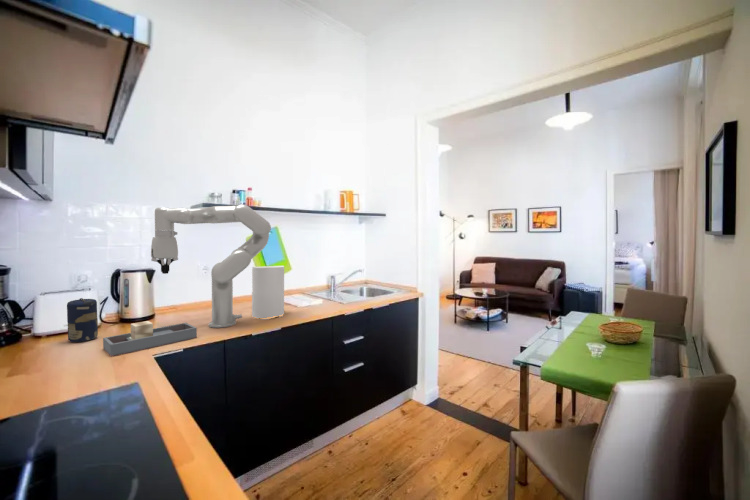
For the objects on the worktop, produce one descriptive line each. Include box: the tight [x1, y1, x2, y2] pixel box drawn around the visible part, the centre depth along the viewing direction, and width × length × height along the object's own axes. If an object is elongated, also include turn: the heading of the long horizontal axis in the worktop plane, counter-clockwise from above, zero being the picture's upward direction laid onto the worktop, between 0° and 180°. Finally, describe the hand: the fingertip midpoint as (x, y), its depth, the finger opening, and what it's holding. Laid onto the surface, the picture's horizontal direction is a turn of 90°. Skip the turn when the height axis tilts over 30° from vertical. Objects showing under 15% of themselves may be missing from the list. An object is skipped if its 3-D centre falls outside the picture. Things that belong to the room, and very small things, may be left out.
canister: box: [66, 297, 99, 343], centre depth 138 cm, size 10×10×18 cm
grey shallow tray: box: [102, 322, 198, 358], centre depth 135 cm, size 30×12×4 cm, turn 140°
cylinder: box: [251, 265, 285, 318], centre depth 183 cm, size 17×17×28 cm
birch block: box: [130, 320, 154, 340], centre depth 132 cm, size 6×6×6 cm
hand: (165, 273), depth 152 cm, fingers closed
